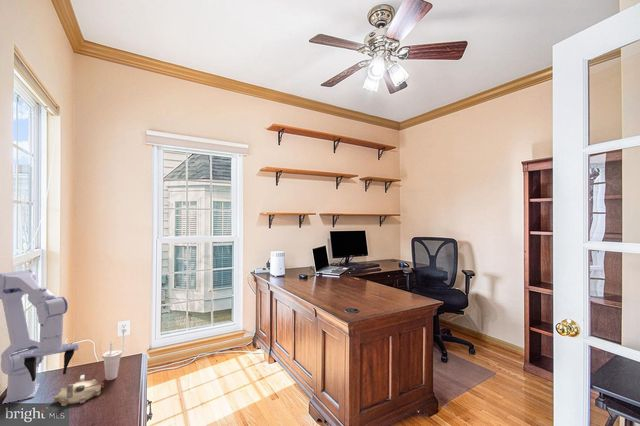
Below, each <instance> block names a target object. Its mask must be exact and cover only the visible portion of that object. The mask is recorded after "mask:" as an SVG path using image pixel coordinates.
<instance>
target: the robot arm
mask: <svg viewBox="0 0 640 426" xmlns="http://www.w3.org/2000/svg"><path fill="white" fill-rule="evenodd" d="M36 278H37V276H36V272H34V270H33V269H27V270H25V269H24V270H18V271H17V270H16V271H9V272H0V300H1V301H2V302H1V303H2V306H3V312H4V316H5V321H6V327H7V332H8V338H9V343H10V345H9V346H7V348H6V349H5V350H3V352H2V353H1V354H0V359H1V360H0V369H1V372H2V373H3V374H5V375H7V390H6V391H7V393H6V396H5V398H4V400H3V401H2V405H5V404H4V403H6V404H9V402H10V403H15V402H18V400H19V401H23V400H27V399H30V398H31V399H32V398H34V397H35V396H36V394H37V392H38V389H39V387H40V383H37V374H38V373H37V371H38V369H37V368H39V367H40V364H42V362H43V360H44V357H45V356H52V355H55V354H62V353H64V354H63V371H62V375H64V376H65V375H66V374H67V369H68V366H69V364H70V361H72V360H71V359H72V358H73V356H74V354H75V352H76V351H77V352H78V351H79V342H77V343H76V342H75V343H64V344H63V329H64V328H63V327H64V315H65V314H66V313H67V312H68V308H69V305H68V304H69V303H68V300H67V299H66V298H65V296H56V295H55V294H54V292H52V291H50V290H49V289H48V288H47V287H45V286H44V287H41V286H40V285H39V283H38V282H37V281H36V280H37V279H36ZM24 295H28V296H27V300H28V302H29V303H30V304H32V305H33V307H34V308H36V314H37V317H38V319H37V321H38V324H39V341H38V340H34V339H31V338H30V334H29V328H28V325H27V323H28V322H27V319H26V315H25V308H24V305H23V299H22V297H24Z"/></svg>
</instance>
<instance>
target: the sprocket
mask: <svg viewBox="0 0 640 426" xmlns="http://www.w3.org/2000/svg"><path fill="white" fill-rule="evenodd" d="M104 387H105V383H104V381H101V382H100V381H98V380H97V379H95V378H93V379H91V380H84V381H83V382H80V380H79V381H75V383H70V384H67V385H66V387H61V388H60V389H59V391H58V394H57V395H55V396H54V397H53V398H54V399H53V400H54V403H60V404H61V406H62V407H65V406H68V405H73V404H78V403H79V404H82V403H85V402H86V401H88V400H89V399H91V398H93V397H96V396H99V395H100V394H101V391H102V390H101V389H104Z"/></svg>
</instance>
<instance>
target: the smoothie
mask: <svg viewBox="0 0 640 426" xmlns="http://www.w3.org/2000/svg"><path fill="white" fill-rule="evenodd" d="M112 349H113V342H110V343H109V350H108V351H106V352H104V353H103V354H102V359H103V367H104V375H105V381H112V380H115V379H116V378H117V377H118V373H119V367H120V361H121V356H122V354H123V351H122V350H120V349H113V350H112Z"/></svg>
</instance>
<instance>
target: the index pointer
mask: <svg viewBox="0 0 640 426" xmlns="http://www.w3.org/2000/svg"><path fill="white" fill-rule="evenodd" d="M85 376H86V375H85V374H82V375H80V376H79V377H80V378H79V381H80V382H83V381H85V378H86V377H85Z"/></svg>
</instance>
